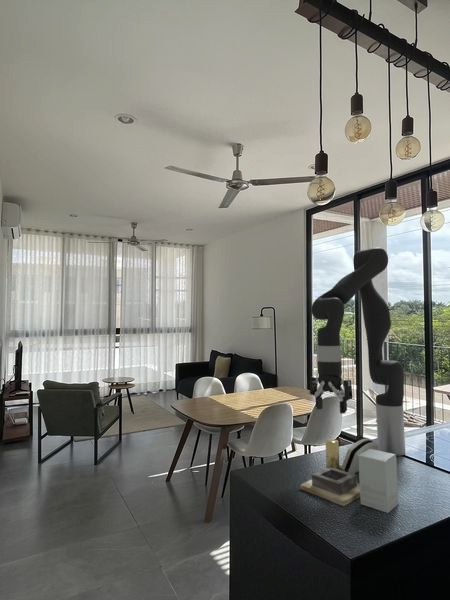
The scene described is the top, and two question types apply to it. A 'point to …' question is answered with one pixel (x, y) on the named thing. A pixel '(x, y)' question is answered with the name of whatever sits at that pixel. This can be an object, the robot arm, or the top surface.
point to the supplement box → (378, 480)
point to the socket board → (332, 496)
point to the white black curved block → (356, 455)
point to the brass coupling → (332, 453)
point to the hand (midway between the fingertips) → (330, 411)
